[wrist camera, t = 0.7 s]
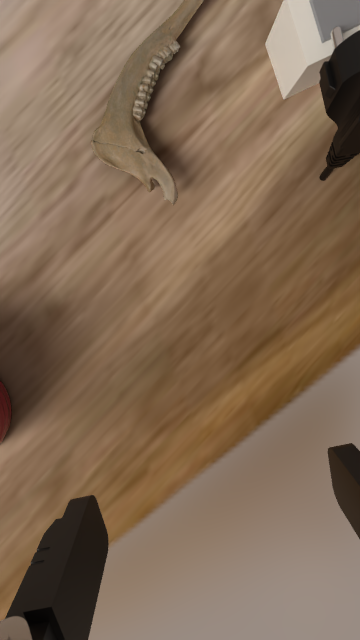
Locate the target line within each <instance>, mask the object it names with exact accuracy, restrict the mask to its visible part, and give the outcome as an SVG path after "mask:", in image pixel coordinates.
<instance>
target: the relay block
mask: <svg viewBox="0 0 360 640" xmlns="http://www.w3.org/2000/svg"><path fill="white" fill-rule="evenodd" d="M336 26H339V27H340V28H341V29H342V33H343V38H344V40H345V39H347V38H348V37H349V36H351V35H352V34H354V33H355V32H357V31H359V30H360V0H284V1H283V3H282V5H281V8H280V10H279V12H278V15H277V17H276V20H275V22H274V24H273V27H272V29H271V31H270V34H269V36H268V38H267V41H266V43H265V45H266V48H267V51H268V54H269V57H270V60H271V63H272V66H273V69H274V72H275V75H276V78H277V81H278V84H279V87H280V90H281V93H282V96H283V99H284V100H285V99H287V98H289V97H291V96H293V95H295V94H297V93H299V92H302V91H304V90H306V89H308V88H310V87H312V86H314V85H316V84H318V83H319V81H320V79H321V77H320V73H319V72H320V69H321V67H322V65H323V63H324V62H325V61H329V60H330V57H331V55H332V53H333V51H334V50H333V46H332V42H331V37H330V33H331V30H332V29H333V28H334V27H336Z"/></svg>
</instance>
